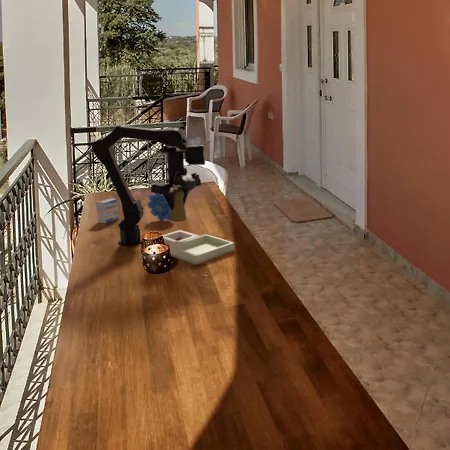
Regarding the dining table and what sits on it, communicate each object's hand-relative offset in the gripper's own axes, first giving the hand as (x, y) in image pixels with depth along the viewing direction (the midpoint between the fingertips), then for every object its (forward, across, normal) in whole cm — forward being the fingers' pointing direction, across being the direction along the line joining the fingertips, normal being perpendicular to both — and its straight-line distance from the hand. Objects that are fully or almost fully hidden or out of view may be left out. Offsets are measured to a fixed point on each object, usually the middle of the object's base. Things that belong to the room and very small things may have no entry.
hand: (177, 208), depth 204 cm
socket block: (+13, 0, 0) cm, 13 cm away
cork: (+4, 0, 0) cm, 4 cm away
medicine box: (+13, -1, +43) cm, 45 cm away
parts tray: (+13, -2, -14) cm, 19 cm away
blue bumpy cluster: (+13, +13, +26) cm, 32 cm away
